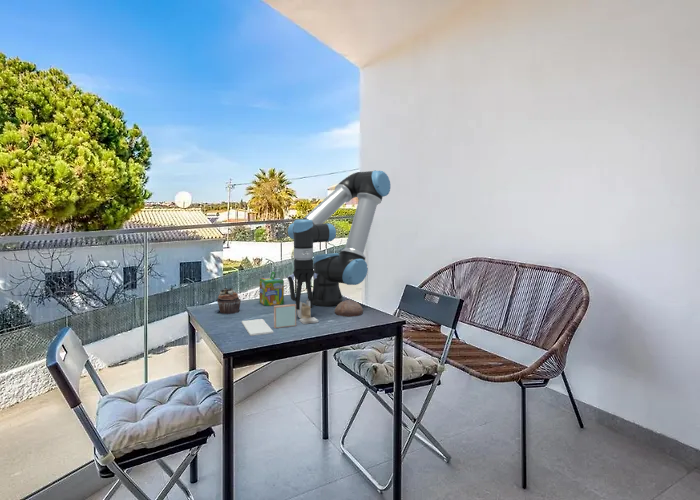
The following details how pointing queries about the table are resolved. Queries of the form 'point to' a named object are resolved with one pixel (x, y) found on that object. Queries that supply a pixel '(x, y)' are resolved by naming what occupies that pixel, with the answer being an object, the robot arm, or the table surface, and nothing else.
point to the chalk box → (271, 291)
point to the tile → (284, 316)
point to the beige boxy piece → (307, 315)
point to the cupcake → (228, 301)
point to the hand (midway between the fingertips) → (304, 316)
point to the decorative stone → (348, 308)
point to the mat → (257, 327)
